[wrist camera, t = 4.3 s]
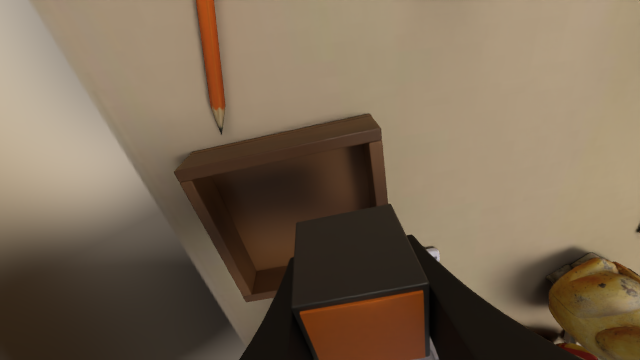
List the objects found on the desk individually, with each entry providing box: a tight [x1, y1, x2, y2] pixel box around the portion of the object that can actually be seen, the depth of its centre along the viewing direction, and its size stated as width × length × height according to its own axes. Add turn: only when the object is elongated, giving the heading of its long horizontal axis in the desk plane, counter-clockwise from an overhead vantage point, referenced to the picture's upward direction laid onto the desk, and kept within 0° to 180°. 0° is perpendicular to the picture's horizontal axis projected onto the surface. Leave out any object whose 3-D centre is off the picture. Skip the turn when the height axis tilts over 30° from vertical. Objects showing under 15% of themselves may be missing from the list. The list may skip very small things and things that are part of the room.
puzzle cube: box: [291, 204, 430, 360], centre depth 11 cm, size 4×4×4 cm
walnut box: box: [174, 114, 388, 302], centre depth 20 cm, size 13×13×3 cm
